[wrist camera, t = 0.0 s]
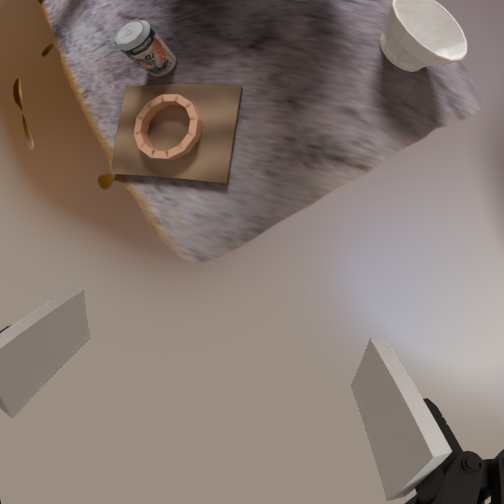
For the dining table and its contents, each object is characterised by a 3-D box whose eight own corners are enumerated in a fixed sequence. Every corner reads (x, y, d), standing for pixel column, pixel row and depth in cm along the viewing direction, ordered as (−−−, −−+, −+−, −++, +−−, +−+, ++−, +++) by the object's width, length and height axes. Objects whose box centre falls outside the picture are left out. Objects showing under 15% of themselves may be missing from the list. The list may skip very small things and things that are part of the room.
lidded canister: (151, 82, 33) (113, 54, 22) (146, 60, 32) (110, 28, 21) (180, 70, 33) (149, 35, 21) (174, 48, 32) (144, 11, 20)
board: (129, 89, 34) (126, 86, 32) (242, 89, 33) (241, 86, 32) (115, 173, 37) (111, 173, 36) (227, 183, 37) (226, 183, 35)
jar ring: (148, 99, 33) (140, 95, 30) (206, 100, 33) (202, 94, 30) (138, 158, 35) (130, 157, 33) (196, 161, 35) (191, 160, 32)
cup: (430, 38, 27) (460, 14, 17) (434, 93, 31) (472, 76, 20) (367, 13, 28) (388, -22, 17) (367, 67, 31) (395, 36, 20)
